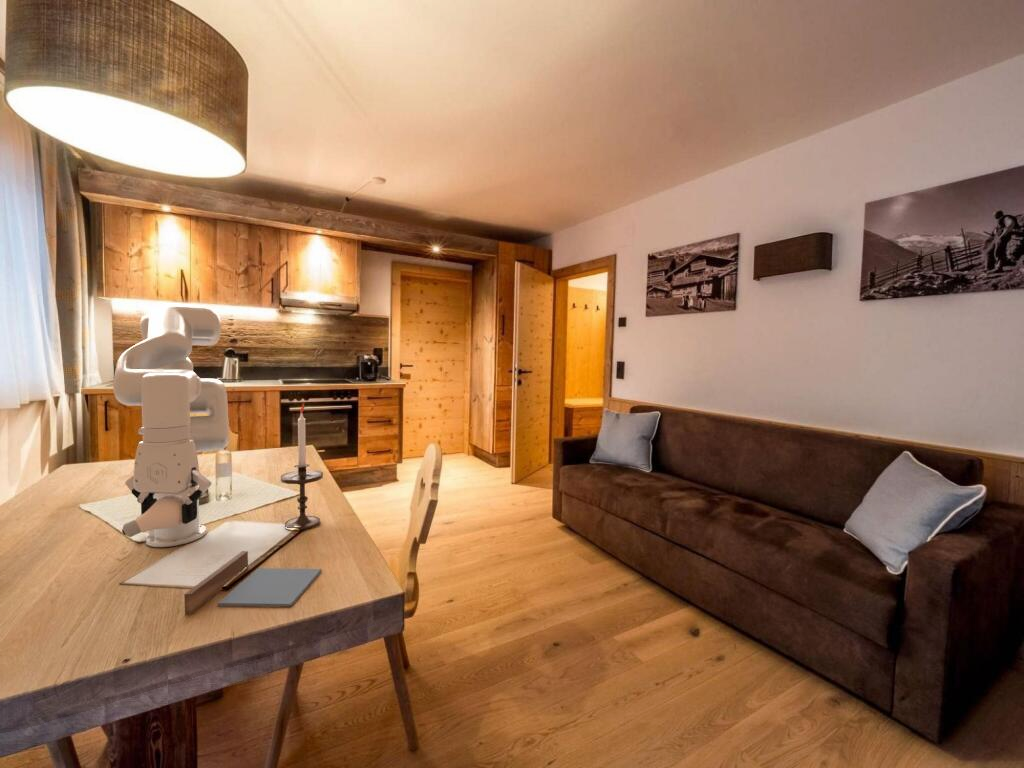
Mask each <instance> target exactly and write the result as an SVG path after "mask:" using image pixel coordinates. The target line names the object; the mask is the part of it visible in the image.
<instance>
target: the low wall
mask: <svg viewBox="0 0 1024 768" xmlns="http://www.w3.org/2000/svg"><path fill="white" fill-rule="evenodd" d="M247 566H248V567H249V551H248V550H242V551H240V552H239V553H238V554H237V555H235V556H234V557H233V558H231V559H230V560H228V561H227V562H226V563H224V564H222V566H220V567H219V568H218V569H216V570H215V571H214V572H213V571H212V573H210V575H208V576H206V578H204V579H202V580H201V581H200V582H199V583H197V584H196V585H195V586H193V587H192V588H190V589H189V590H188V591H186V592H185V593H184V596H183V597H184V600H183V601H184V616H192V615H193V614H194V613H197V611H198V610H200V609H201V608H202V607H203V606H204V605H205V604H206V603H208V602H209V601H211V599H213V598H214V597H215V596H217V594H219V593H220V592H221V591H222V590H223V589H222V587H223V586H224V585H225V584H226V583H227V582H229V581H230V580H231V579H232V578H233V577H234V576H236V575H237V574H238V573H239V572H241V571H242V570H243V569H244V568H245V567H247Z"/></svg>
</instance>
